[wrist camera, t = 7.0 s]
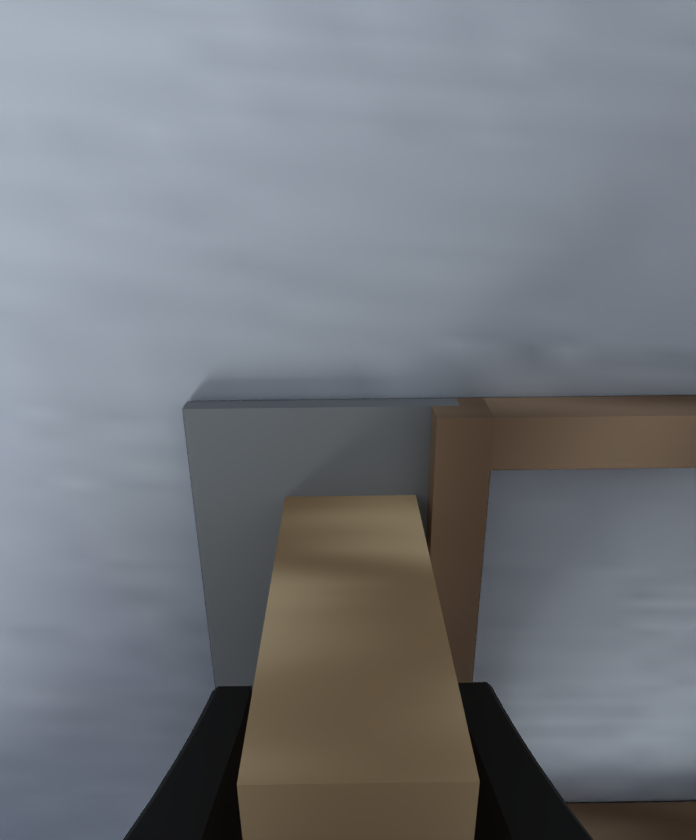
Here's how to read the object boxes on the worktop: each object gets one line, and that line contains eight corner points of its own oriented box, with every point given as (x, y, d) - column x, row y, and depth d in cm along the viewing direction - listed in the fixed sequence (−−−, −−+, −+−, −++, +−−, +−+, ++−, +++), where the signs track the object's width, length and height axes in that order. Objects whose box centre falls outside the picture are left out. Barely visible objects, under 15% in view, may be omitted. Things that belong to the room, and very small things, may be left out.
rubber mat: (233, 808, 16) (231, 824, 15) (187, 401, 12) (182, 409, 11) (431, 806, 16) (433, 821, 16) (455, 398, 12) (459, 405, 11)
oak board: (300, 789, 15) (277, 1156, 9) (285, 496, 12) (237, 784, 6) (405, 787, 15) (442, 1153, 10) (415, 494, 12) (480, 781, 6)
